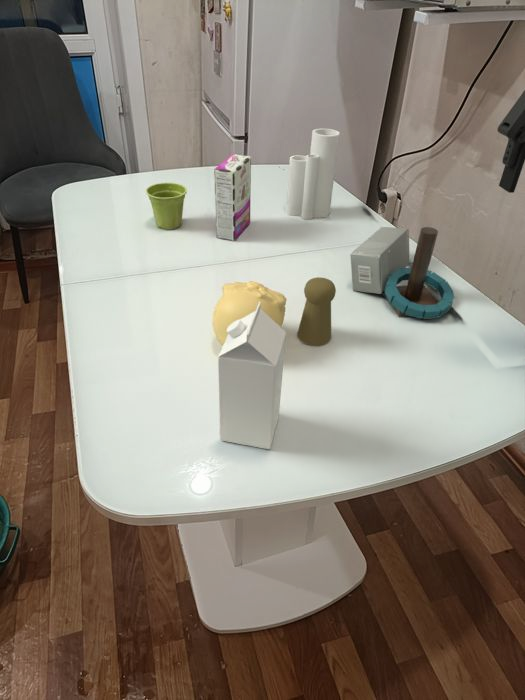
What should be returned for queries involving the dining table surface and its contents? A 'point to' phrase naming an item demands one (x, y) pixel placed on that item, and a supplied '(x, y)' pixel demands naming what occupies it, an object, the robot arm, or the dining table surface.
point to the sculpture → (245, 305)
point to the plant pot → (167, 204)
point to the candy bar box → (232, 196)
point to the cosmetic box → (379, 259)
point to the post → (419, 272)
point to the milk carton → (251, 380)
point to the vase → (313, 177)
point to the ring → (415, 308)
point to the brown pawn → (317, 312)
